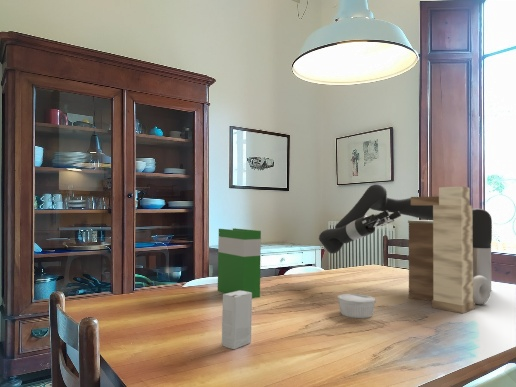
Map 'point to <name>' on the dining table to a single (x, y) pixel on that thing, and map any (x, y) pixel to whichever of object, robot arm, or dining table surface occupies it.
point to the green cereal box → (239, 261)
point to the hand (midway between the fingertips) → (394, 213)
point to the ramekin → (356, 305)
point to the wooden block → (453, 258)
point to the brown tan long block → (446, 197)
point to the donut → (480, 289)
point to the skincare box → (236, 319)
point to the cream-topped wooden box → (421, 259)
